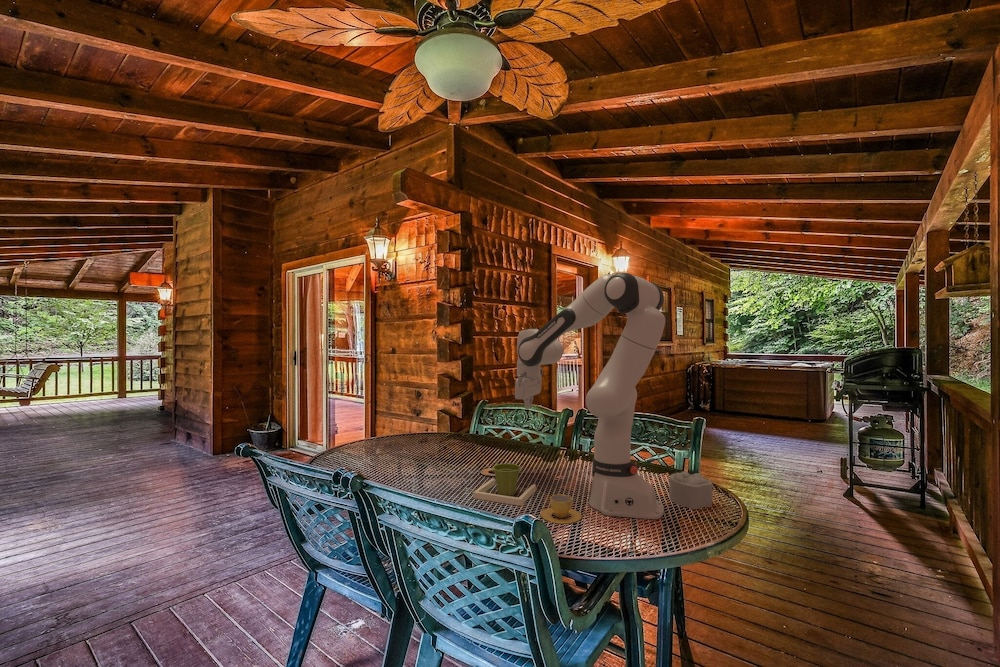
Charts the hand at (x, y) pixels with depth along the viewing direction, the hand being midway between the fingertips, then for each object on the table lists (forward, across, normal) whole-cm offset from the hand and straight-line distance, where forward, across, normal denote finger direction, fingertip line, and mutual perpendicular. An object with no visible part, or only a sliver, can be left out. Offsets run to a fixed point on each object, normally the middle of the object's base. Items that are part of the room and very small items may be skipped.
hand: (528, 408), depth 174 cm
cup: (+26, -32, -22) cm, 46 cm away
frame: (+25, -22, 0) cm, 33 cm away
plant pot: (+25, -21, 0) cm, 33 cm away
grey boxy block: (+25, -5, -56) cm, 62 cm away
